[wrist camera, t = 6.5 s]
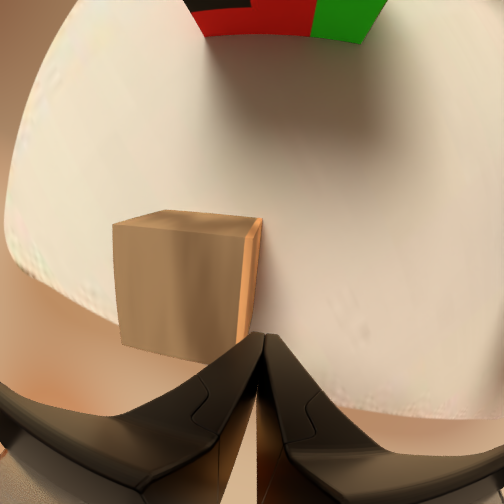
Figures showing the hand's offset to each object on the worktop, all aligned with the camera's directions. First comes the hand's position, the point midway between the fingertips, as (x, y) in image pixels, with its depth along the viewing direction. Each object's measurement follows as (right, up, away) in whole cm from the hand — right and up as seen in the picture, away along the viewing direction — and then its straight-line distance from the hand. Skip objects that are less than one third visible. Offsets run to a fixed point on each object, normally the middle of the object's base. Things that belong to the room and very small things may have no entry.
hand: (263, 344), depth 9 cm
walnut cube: (0, +1, +5) cm, 5 cm away
